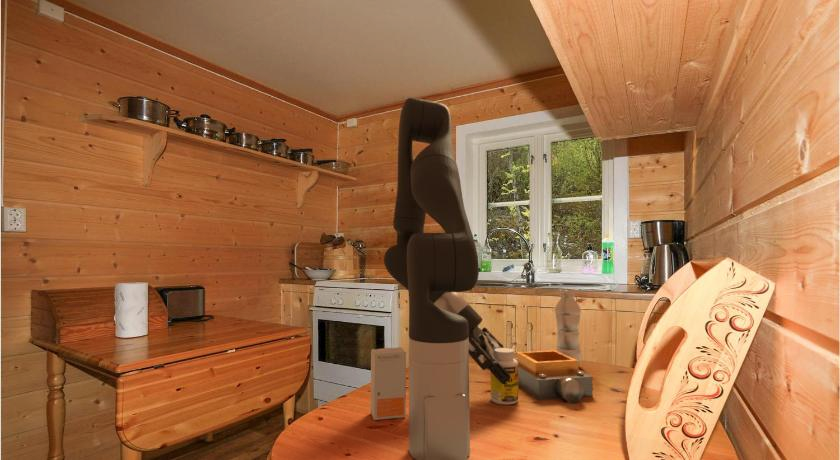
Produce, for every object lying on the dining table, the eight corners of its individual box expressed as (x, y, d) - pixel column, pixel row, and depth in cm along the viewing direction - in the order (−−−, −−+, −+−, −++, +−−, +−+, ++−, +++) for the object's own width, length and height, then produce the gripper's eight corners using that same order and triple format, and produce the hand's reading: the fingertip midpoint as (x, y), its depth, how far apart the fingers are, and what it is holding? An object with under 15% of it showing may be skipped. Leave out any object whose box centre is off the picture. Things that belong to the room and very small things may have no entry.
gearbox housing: (601, 401, 88) (600, 368, 88) (545, 405, 85) (545, 371, 86) (553, 373, 107) (552, 346, 107) (507, 376, 105) (506, 349, 105)
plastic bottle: (549, 365, 115) (548, 289, 116) (569, 362, 118) (567, 288, 119) (567, 371, 109) (566, 291, 110) (587, 368, 112) (586, 290, 113)
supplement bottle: (504, 407, 84) (503, 354, 85) (485, 399, 89) (484, 349, 89) (524, 402, 87) (523, 350, 88) (504, 394, 92) (504, 345, 92)
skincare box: (373, 421, 78) (373, 353, 78) (370, 413, 82) (370, 348, 82) (406, 417, 79) (406, 351, 80) (401, 409, 83) (401, 346, 84)
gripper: (458, 307, 85) (519, 372, 80) (474, 299, 98) (527, 354, 94) (433, 333, 86) (491, 398, 82) (451, 322, 100) (502, 377, 95)
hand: (510, 375), depth 88 cm, fingers open, 8 cm apart
